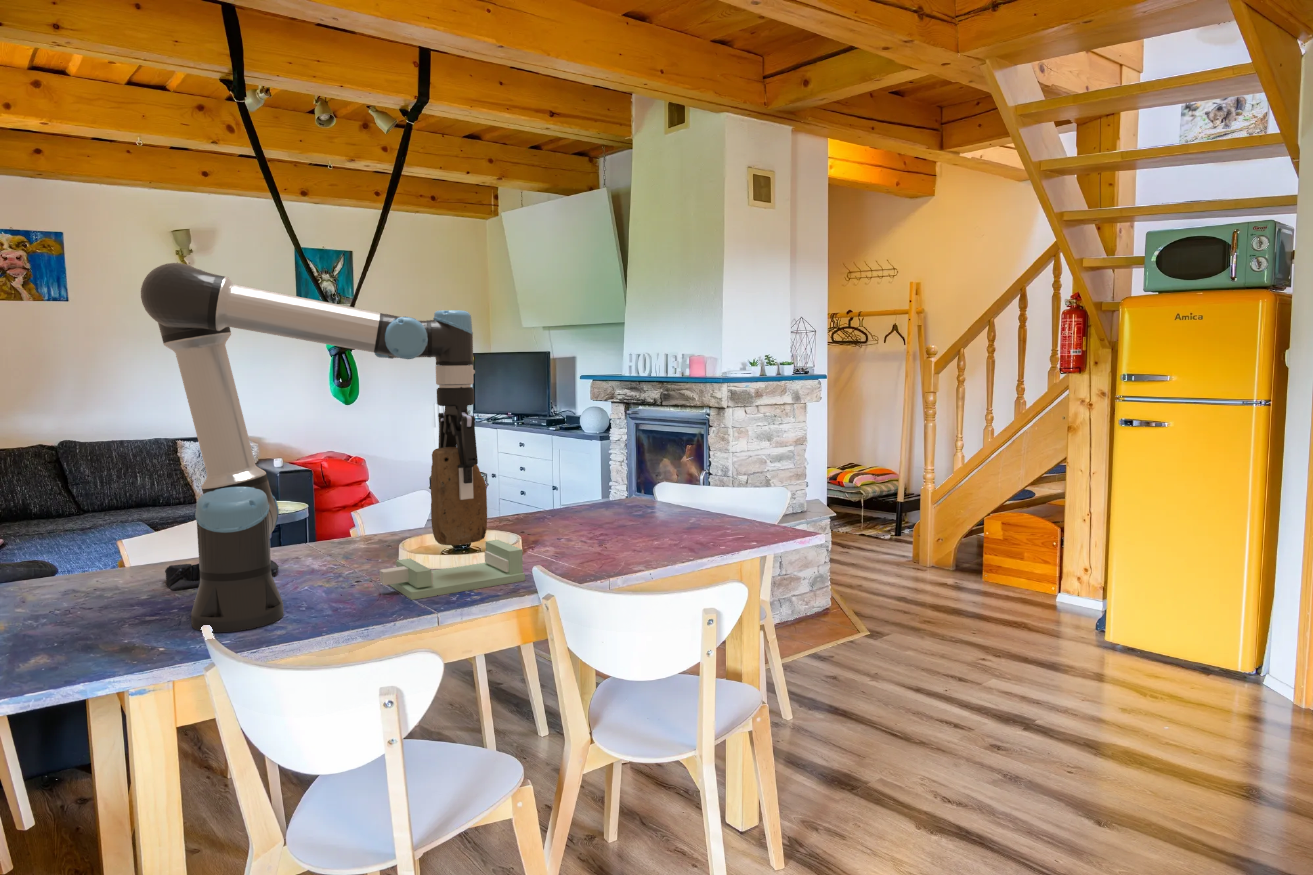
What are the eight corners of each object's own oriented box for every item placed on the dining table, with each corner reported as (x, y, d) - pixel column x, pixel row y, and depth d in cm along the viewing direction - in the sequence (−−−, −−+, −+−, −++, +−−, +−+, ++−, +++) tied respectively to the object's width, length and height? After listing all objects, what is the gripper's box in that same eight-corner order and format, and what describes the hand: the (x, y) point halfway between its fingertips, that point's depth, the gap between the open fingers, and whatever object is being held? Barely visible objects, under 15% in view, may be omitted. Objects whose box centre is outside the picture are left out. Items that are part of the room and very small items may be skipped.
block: (438, 548, 179) (435, 450, 176) (430, 540, 185) (427, 446, 183) (490, 542, 183) (488, 447, 181) (480, 535, 190) (478, 443, 188)
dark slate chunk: (282, 581, 189) (281, 559, 188) (164, 594, 178) (163, 571, 178) (275, 565, 202) (274, 545, 202) (166, 577, 192) (164, 556, 191)
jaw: (391, 592, 171) (391, 575, 170) (372, 579, 180) (372, 563, 180) (434, 585, 176) (433, 569, 175) (413, 572, 185) (412, 557, 185)
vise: (411, 599, 172) (410, 567, 171) (388, 584, 183) (387, 553, 183) (525, 580, 186) (524, 550, 185) (496, 567, 197) (496, 538, 197)
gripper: (493, 387, 175) (496, 500, 177) (453, 384, 192) (456, 488, 194) (457, 388, 171) (460, 504, 173) (419, 385, 187) (423, 491, 190)
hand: (458, 495), depth 183 cm, fingers closed on block, 8 cm apart
